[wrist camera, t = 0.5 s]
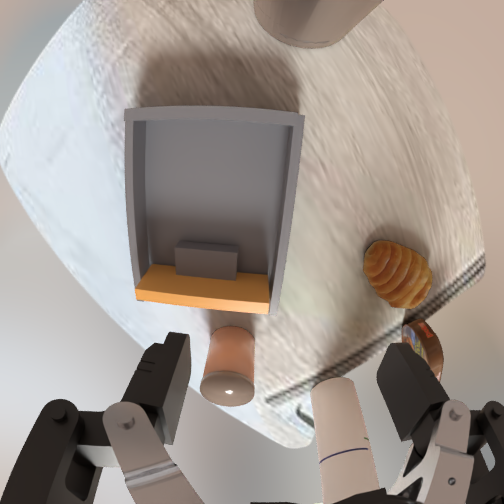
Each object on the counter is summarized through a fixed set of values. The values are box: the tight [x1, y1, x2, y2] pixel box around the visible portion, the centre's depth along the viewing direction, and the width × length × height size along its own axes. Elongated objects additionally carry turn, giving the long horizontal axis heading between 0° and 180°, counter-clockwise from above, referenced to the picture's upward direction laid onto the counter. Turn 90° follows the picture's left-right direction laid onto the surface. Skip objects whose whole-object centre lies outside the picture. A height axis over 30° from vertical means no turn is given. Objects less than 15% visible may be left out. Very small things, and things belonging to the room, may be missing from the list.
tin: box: [402, 319, 444, 382], centre depth 30 cm, size 15×3×8 cm, turn 22°
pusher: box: [135, 241, 269, 314], centre depth 26 cm, size 4×12×5 cm, turn 85°
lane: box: [124, 106, 305, 316], centre depth 24 cm, size 19×15×5 cm
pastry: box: [363, 240, 432, 309], centre depth 27 cm, size 9×7×4 cm
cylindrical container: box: [310, 377, 380, 504], centre depth 27 cm, size 7×7×25 cm
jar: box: [200, 326, 255, 406], centre depth 30 cm, size 6×6×8 cm
